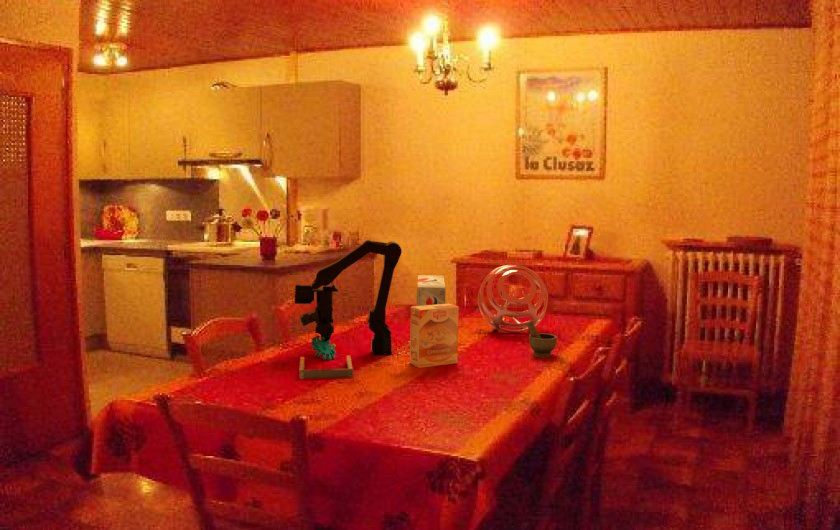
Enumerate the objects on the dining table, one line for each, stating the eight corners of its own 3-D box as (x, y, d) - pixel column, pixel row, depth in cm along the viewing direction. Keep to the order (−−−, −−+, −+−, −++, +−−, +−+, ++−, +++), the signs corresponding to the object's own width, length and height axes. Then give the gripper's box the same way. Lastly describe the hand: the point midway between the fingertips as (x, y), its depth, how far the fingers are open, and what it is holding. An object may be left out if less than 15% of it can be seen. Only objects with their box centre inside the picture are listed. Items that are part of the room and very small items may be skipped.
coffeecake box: (418, 368, 244) (419, 309, 241) (409, 363, 250) (409, 306, 247) (458, 363, 250) (459, 306, 248) (448, 358, 257) (448, 302, 254)
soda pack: (445, 318, 325) (446, 286, 324) (416, 318, 325) (416, 286, 324) (443, 301, 366) (443, 273, 364) (417, 301, 366) (417, 273, 364)
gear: (321, 358, 248) (308, 334, 252) (311, 369, 250) (298, 345, 254) (344, 356, 257) (330, 333, 261) (334, 366, 259) (321, 343, 263)
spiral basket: (484, 274, 321) (491, 244, 296) (547, 292, 318) (560, 263, 293) (467, 332, 308) (473, 306, 284) (533, 351, 306) (545, 327, 281)
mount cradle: (350, 363, 249) (350, 355, 249) (352, 377, 232) (352, 369, 232) (300, 364, 247) (300, 357, 247) (299, 378, 230) (299, 371, 230)
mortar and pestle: (559, 354, 264) (560, 320, 263) (552, 360, 256) (553, 325, 254) (528, 350, 269) (529, 317, 267) (520, 356, 260) (521, 322, 259)
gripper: (302, 299, 267) (302, 341, 269) (300, 309, 249) (300, 355, 251) (333, 299, 269) (333, 341, 271) (333, 309, 250) (333, 354, 252)
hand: (324, 347), depth 261 cm, fingers closed
